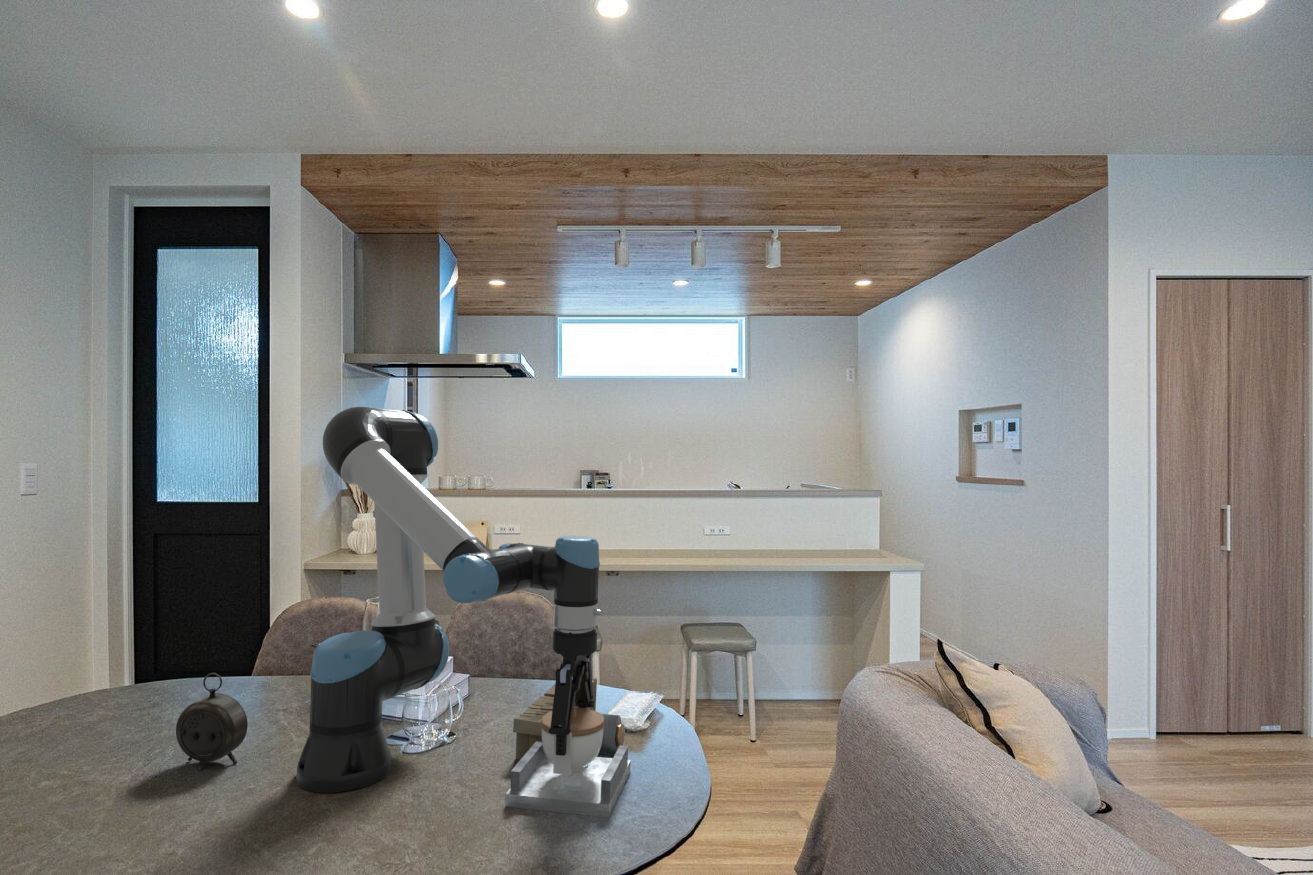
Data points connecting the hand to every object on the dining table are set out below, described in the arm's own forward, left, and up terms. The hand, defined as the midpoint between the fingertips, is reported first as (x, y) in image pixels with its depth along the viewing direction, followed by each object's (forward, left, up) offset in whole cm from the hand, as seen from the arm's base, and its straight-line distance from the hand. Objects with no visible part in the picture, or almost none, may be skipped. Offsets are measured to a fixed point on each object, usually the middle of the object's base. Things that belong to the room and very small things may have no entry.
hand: (571, 758), depth 122 cm
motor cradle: (0, +5, -5) cm, 7 cm away
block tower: (-9, +22, -5) cm, 25 cm away
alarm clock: (-65, -5, -5) cm, 65 cm away
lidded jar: (0, 0, -1) cm, 1 cm away
